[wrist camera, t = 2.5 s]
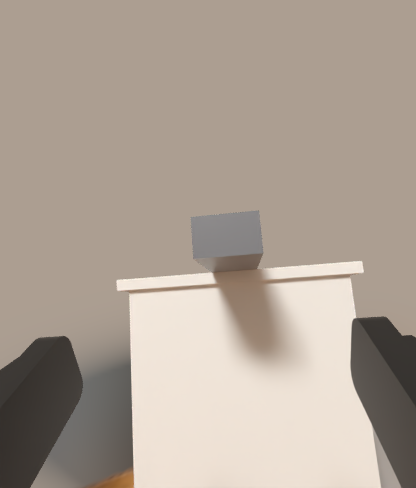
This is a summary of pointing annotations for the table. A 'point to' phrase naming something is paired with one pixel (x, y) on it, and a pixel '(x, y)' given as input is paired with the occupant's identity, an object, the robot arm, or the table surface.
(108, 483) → the table surface
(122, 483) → the table surface
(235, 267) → the bar
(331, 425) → the tall stand
